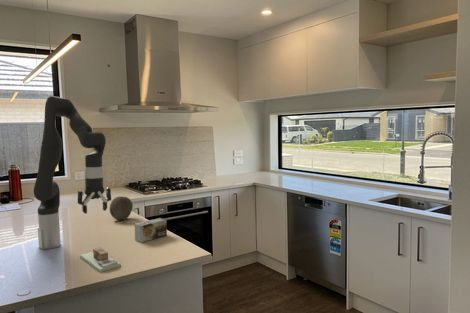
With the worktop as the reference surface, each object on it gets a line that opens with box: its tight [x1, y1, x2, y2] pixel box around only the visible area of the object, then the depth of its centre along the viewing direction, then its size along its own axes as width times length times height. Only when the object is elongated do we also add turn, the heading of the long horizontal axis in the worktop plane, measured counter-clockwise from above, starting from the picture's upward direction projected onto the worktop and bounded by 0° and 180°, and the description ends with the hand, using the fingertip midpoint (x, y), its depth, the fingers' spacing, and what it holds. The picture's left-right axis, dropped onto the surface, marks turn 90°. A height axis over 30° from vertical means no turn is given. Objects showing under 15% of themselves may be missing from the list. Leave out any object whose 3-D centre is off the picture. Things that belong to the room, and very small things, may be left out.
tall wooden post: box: [92, 247, 119, 268], centre depth 152 cm, size 15×6×4 cm, turn 43°
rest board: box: [79, 251, 122, 273], centre depth 155 cm, size 9×23×1 cm, turn 43°
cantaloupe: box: [109, 196, 133, 221], centre depth 224 cm, size 14×14×15 cm
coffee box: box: [134, 217, 168, 244], centre depth 187 cm, size 9×6×16 cm
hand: (95, 211), depth 159 cm, fingers open, 8 cm apart
